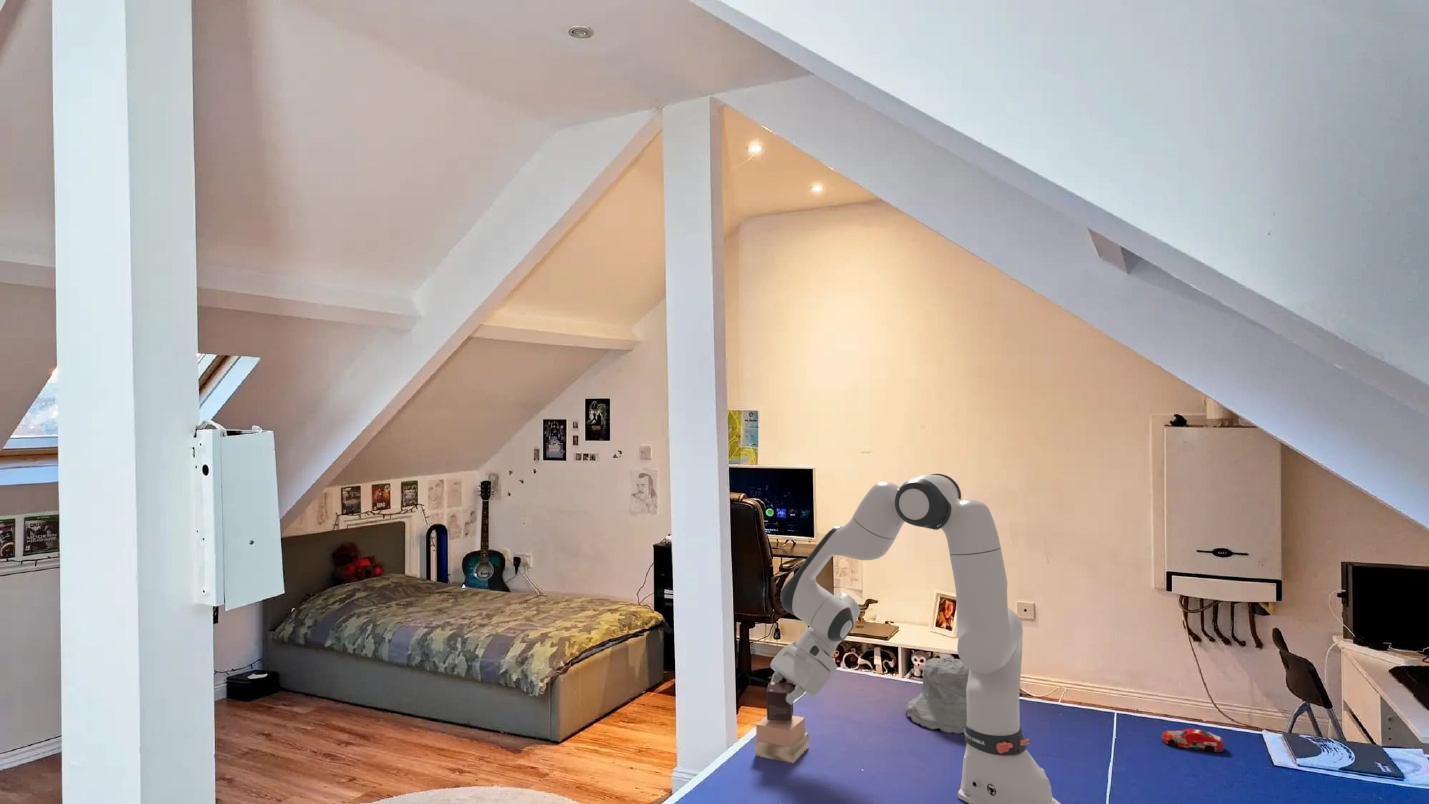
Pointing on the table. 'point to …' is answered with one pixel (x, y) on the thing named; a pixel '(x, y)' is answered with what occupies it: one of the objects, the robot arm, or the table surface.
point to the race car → (1194, 740)
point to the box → (779, 702)
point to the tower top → (780, 731)
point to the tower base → (782, 750)
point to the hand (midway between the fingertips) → (778, 696)
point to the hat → (942, 696)
